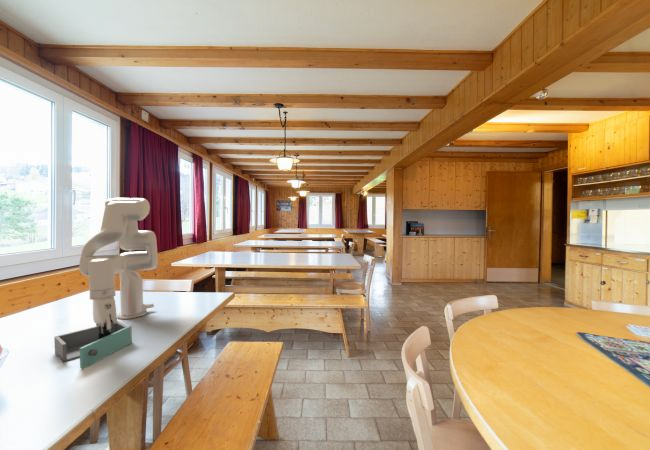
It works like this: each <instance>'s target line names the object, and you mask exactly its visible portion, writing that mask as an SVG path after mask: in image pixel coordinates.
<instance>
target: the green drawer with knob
mask: <svg viewBox="0 0 650 450" xmlns="http://www.w3.org/2000/svg"><path fill="white" fill-rule="evenodd" d="M130 344H133V326H132V325H127V327H126V328H123V329H121V330H119V331H117V332H114V333H112V334H110V335H108V336H106V337H103V338H101V339H99V340H97V341H94V342H92V343H90V344H88V345H86V346H83V347H81V348H80V357H79V366H80V367H79V368H80V369H85V368H87V367H88V366H90V365H92V364H94V363H95V362H98V361H99V360H101V359H103V358H105V357H107V356H109V355H111V354H113V353H115V352H116V351H119V350H121V349H123V348H124V347H127V346H128V345H130Z"/></svg>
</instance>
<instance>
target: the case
mask: <svg viewBox="0 0 650 450" xmlns="http://www.w3.org/2000/svg"><path fill="white" fill-rule="evenodd" d="M126 327H128V325H126V324H124V323H122V322H121V321H118V320H117V323H116V324H114V323H111V334H112V333H114V332H117V331H119V330H121V329H123V328H126ZM99 333H101V332H99V331H98V326H96V325H95V326H93V327H89V328H84V329H80V330H77V331H73V332H68V333H64V334H59V335H54V337H53V338H54V353H55V355H56V356H57V357H58V359H60V360H61V362H62V363H66V362H69V361H72V360H76V359H78V358H79V359H80V348H81V347H83V346H86V345H88V344H90V343H92V342H94V341H97V340H99Z"/></svg>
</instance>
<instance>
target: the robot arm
mask: <svg viewBox="0 0 650 450" xmlns="http://www.w3.org/2000/svg"><path fill="white" fill-rule="evenodd" d="M150 209H151V206H150V202H149V201H148V199H146V198H143V197H131V198H130V197H113V198H108V199H107V200H105V202H104V210H103V211H104V213H103V216H102V222H101V226H100V231H99V232H98V233H96V234H95V235H93V237H91V238H90V239H89V240H88V241H87V242H86V243H85V244H84V245H83V248H82V250H81V254H80V259H79V264H78V265H79V266H78V267H79V268H78V269H79V272H80V274H81V275H82V276H86V277H88V286H89V287H88V288H89V290H88V291H89V300H92V318H93V322H94V323H95V324H98V331H99V332H101V333H99V339H101V338H103V337H106V336H108V335H110V334H111V322H112V323H114V324H116V323H117V321H118V319H119V320H128V319H129V320H130V319H135V318H139V317H142V316H145V315H146V314H147V313H148V309H150V308H154V307H155V305H154V303H150V304H149V303H146V304H145V303H144V293H143V291H144V288H143V287H144V285H143V284H144V283H143V278H142V276H141V275H140V273H138V272H139V271H150V270H155V269H157V267H158V264H159V259H158V245H157V242H158V241H157V236H156V234H155V231H152V230H146V229H145V230H143V229H141V230H139V223H138V221H143V220H144V219H146V217H147V216H148V215H149V214H150ZM116 242H118V246H119V248H120V249H121V250H123V251H124V252H121V253H120V254H103V255H100V254H99V255H95V253H97V251H98V250H100V249H102V248H104V247H106V246H108V245H112V244H113V243H116ZM116 275H118V276H119V294H120V295H119V296H120V298H119V299H120V313H119V312H118V313H117V307H116V306H117V305H116V299H115V297H116Z"/></svg>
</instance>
